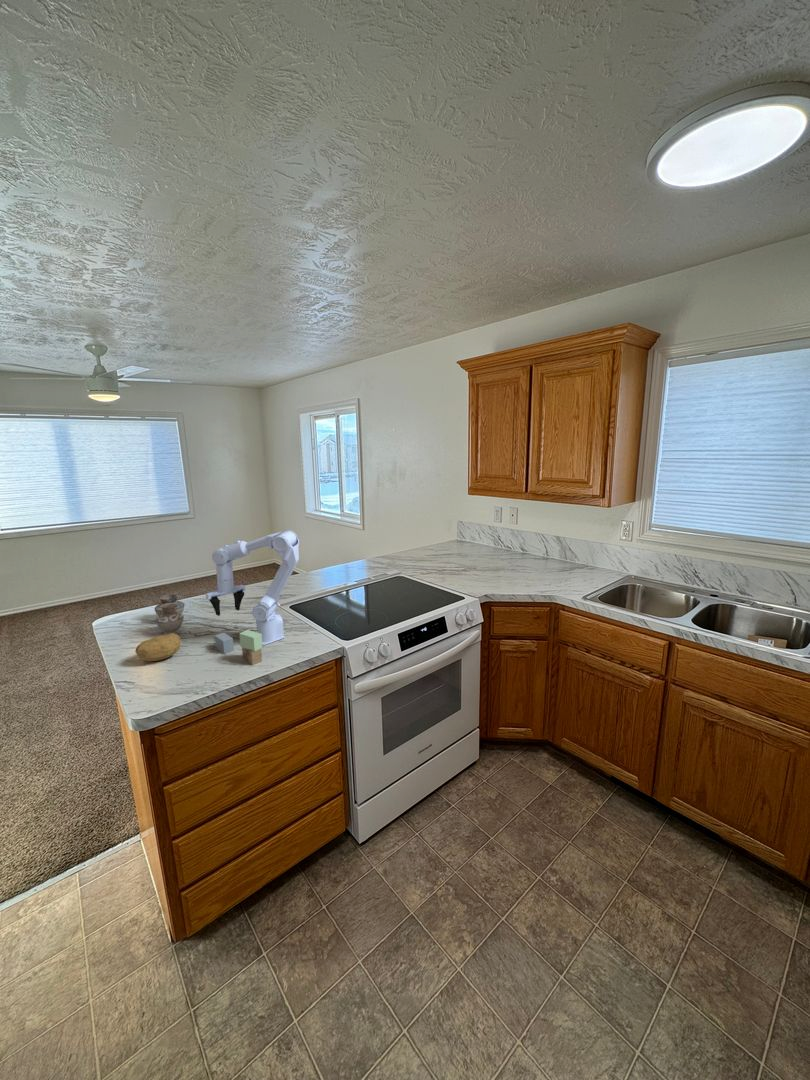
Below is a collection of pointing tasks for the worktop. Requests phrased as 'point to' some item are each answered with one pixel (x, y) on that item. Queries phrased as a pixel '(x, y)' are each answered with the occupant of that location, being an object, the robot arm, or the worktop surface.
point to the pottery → (169, 614)
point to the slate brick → (224, 643)
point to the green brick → (251, 640)
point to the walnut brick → (252, 656)
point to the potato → (158, 647)
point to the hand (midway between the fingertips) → (227, 612)
